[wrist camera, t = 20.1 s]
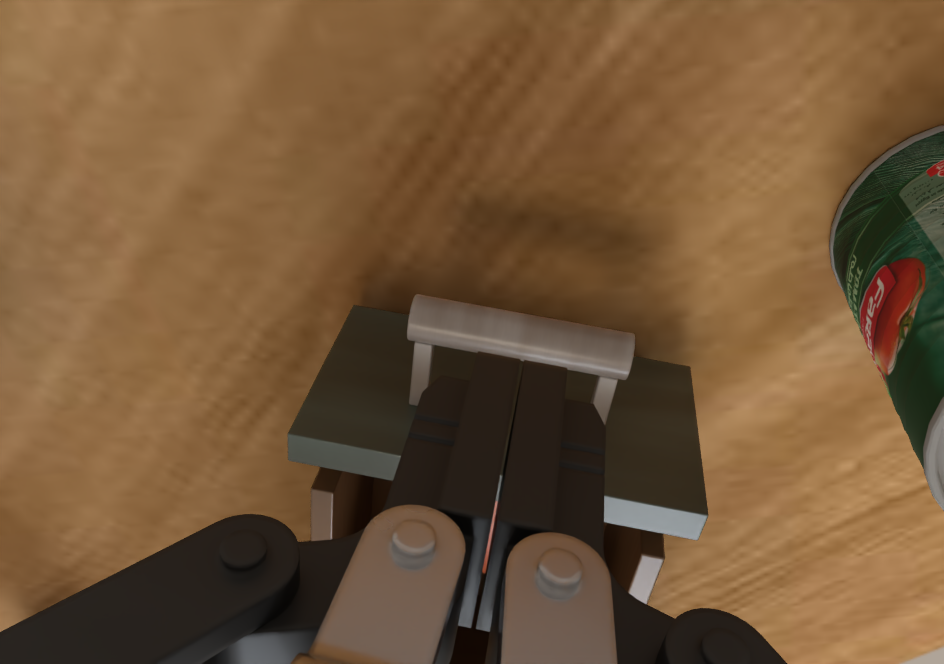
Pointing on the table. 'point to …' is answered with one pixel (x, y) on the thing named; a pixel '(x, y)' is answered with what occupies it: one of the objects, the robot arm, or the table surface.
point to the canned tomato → (901, 284)
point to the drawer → (526, 338)
